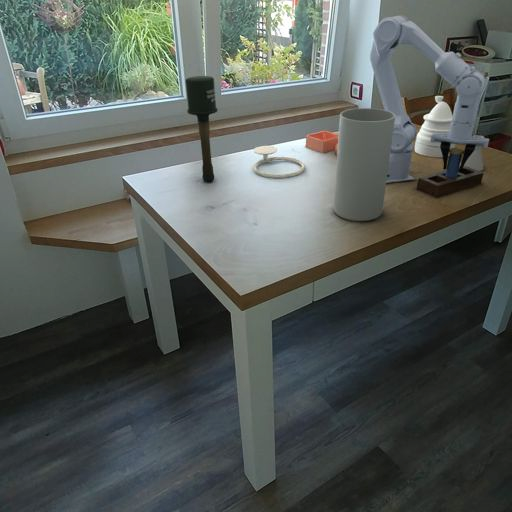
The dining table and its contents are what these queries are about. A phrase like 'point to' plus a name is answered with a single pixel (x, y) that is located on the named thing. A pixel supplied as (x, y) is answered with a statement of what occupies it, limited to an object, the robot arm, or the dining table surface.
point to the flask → (475, 158)
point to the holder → (449, 182)
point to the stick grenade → (202, 115)
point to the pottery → (322, 141)
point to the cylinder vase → (362, 162)
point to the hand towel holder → (270, 150)
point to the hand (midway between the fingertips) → (452, 169)
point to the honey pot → (434, 129)
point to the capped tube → (454, 162)
